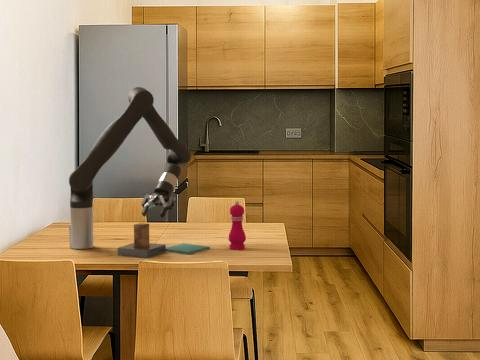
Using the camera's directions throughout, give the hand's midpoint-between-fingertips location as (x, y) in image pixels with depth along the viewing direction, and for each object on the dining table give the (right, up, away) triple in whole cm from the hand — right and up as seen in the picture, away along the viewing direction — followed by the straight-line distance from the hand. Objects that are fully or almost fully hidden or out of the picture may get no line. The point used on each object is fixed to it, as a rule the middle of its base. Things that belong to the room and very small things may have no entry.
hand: (152, 215), depth 317 cm
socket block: (-4, -15, -6) cm, 17 cm away
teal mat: (+14, -14, +1) cm, 20 cm away
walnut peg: (-4, -15, -6) cm, 17 cm away
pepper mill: (+35, -14, +3) cm, 38 cm away
